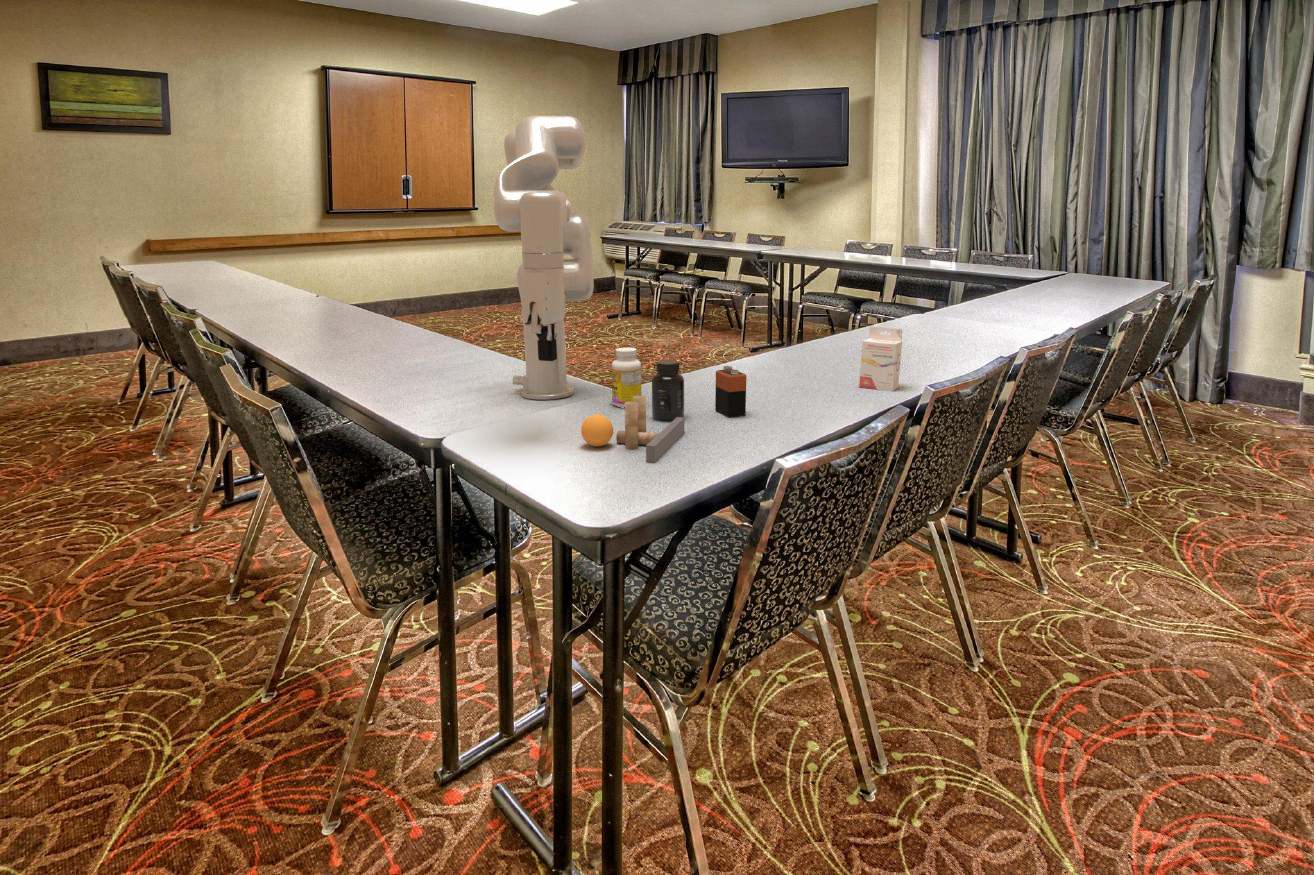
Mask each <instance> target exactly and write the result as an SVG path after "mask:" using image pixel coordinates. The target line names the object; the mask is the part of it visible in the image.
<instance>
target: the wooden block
mask: <svg viewBox="0 0 1314 875" xmlns="http://www.w3.org/2000/svg"><path fill="white" fill-rule="evenodd" d="M658 434H659V433H655V432H646V433H645V432H638V446H646V445H647V444H648V443H649V442H650V441H651V440H653V439H654V438H655V437H656V436H657V435H658ZM615 440H616V443H617V444H625V430H617V432H616V437H615Z"/></svg>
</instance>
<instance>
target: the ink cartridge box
mask: <svg viewBox="0 0 1314 875" xmlns="http://www.w3.org/2000/svg"><path fill="white" fill-rule="evenodd" d="M868 332H869V333H868V334H869V337H868V338H866V339H863V340H862V345H861V346H862V347H861V357H860V358H861V359H860V371H859V385H858V387H859V388H863V389H869V390H870V389H871V390H877V391H883V392H884V391H886V392H894V391H895V390H897V389H898V388H899V382H900V381H899V380H900V372H901V371H900V369H901V361H902V360H901V359H902V350H903V349H902V348H903V347H902V346H903V341H902V338H903V336H902V335H903V329H902V328H899V327H898V328H897V327H888V326H874V325H871V326H870V327H869V331H868ZM883 332H887V333H891V334H883Z"/></svg>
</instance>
